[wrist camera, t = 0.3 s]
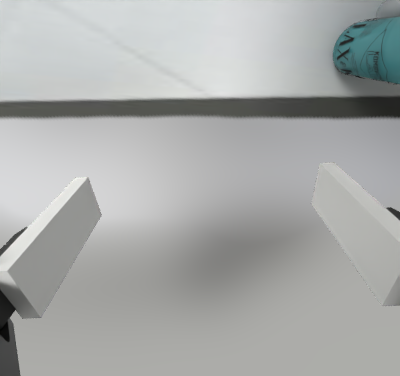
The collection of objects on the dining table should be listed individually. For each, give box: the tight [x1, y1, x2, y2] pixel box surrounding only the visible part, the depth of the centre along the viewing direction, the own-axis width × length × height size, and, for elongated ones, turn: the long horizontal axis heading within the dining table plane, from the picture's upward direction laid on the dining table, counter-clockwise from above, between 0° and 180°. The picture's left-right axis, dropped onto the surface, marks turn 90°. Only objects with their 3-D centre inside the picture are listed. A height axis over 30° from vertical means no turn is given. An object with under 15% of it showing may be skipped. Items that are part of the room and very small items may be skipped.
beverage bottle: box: [333, 16, 400, 85], centre depth 26 cm, size 6×7×20 cm
